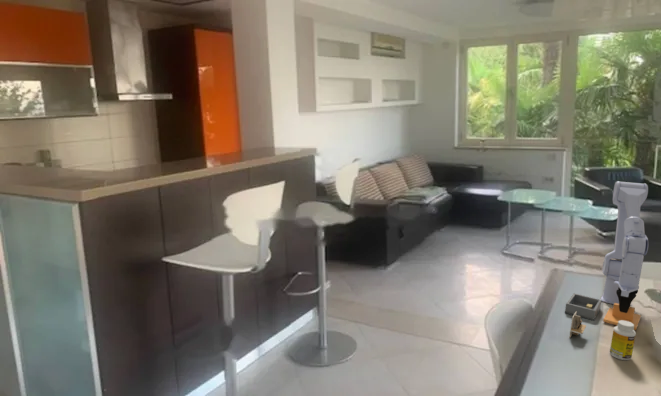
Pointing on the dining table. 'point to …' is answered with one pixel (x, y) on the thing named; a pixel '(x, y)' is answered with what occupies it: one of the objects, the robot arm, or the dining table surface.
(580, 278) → the dining table surface
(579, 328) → the architectural model
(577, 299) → the tub
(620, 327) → the supplement bottle
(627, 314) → the lid
